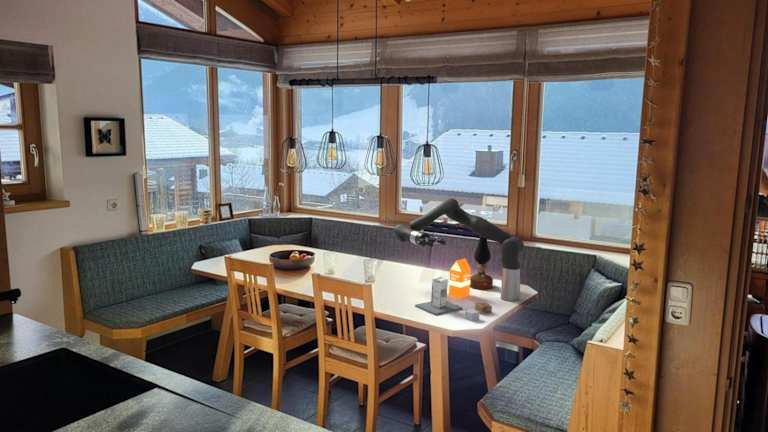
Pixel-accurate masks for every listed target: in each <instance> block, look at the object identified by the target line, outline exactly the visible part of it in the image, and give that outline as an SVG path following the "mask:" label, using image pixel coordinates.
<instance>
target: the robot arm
mask: <svg viewBox="0 0 768 432" xmlns="http://www.w3.org/2000/svg"><path fill="white" fill-rule="evenodd" d="M444 215H445V216H446V217H447V218H449V219H451V220H453V221H455V222H457V223H459V224H461V225H462V226H464V227H465V228H467V229H468V230H470V231H472V232H473V233H474V234H476V235H478V236H479V237H480V236H481V237H483V238H486V239H487V240H489V241H493V242H496V243H499V244H500V245H501V263H502V268H501V269H502V272H501V273H502V274H501V287H500V288H501V291H500V299H501V300H503V301H508V302H516V301H518V300H519V299H520V297H521V296H520V295H521V294H520V293H521V281H520V276H521V275H520V273H521V262H520V261H519V254H521V253H523V252H524V250H525V244H524V242H523V240H522V239H521V238H520V237H518V236H515V235H513V234H511V233H509V232H507V231H504V230H503V229H501V228H500V227H498V226H496V225H495V224H493V223H492V222H490V221H488V219H487V220H485V218H483V217H482V216H478V215H474V214H471V213H468V212H467V211H466V210H464V209H463V208H461V207H460V204H459V202H458V200H457V199H455V198H453V197H452V198H447V199H446V200H444V201H443V202H442V203H439V205H437V206H435V207H434V208H433V209H432V210H430V211H428V212H427V213H424V215H421V216H420V217H418V218H416V219H414V220H412V221H410V222H409V225H406V224H403V223H399V224H397V225H395V226H394V228H393V232H394V234H395V236H396V237H397V239H398V241H399V242H401V243H405V242H408V243H413V244H414V245H417V246H419V247H423V248H424V247H431V248H432V247H434V245H443V246H445V245H446V244H447V243H446V240H444V238H443V237H439V236H435V237H433V236H430V234H429V233H427V232H424V231H423V230H425V229H426V228H428V227H429V226H431V224H433V223H434V222H435V221H436V220H437V219H439V218H440V217H442V216H444Z"/></svg>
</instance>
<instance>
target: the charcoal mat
mask: <svg viewBox="0 0 768 432" xmlns="http://www.w3.org/2000/svg"><path fill="white" fill-rule="evenodd" d="M414 307H416V308H418V309H420V310H422V311H424V312H427V313H429V314H431V315H433V316H439V315H444V314H448V313H452V312H457V311H461V310H462V311H463V306H460V305H458V304H455V303H452V302H450V301H448V300H447V302H446V306H444V307H441V308H438V307H434V306H431V301H426V302H423V303H422V302H420V303H417V304H414Z"/></svg>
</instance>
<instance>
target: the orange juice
mask: <svg viewBox="0 0 768 432" xmlns="http://www.w3.org/2000/svg"><path fill="white" fill-rule="evenodd" d="M471 271H472V270H471V266H470V265H469V262H468V261H467V258H461V259H458V260H457V259H456V260H455V261H454V263H453V265H452V266H451V268H450V269H449V279H448V283H449V284H448V286H449V287H448V289H449V291H448V296H451V297H455V298H459V299H462V298H466V297H467V296H470V295H471V294H470V293H471V292H470V289H471V288H470V277H471Z"/></svg>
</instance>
